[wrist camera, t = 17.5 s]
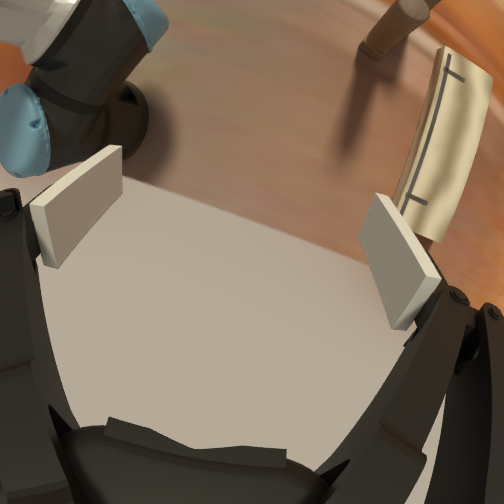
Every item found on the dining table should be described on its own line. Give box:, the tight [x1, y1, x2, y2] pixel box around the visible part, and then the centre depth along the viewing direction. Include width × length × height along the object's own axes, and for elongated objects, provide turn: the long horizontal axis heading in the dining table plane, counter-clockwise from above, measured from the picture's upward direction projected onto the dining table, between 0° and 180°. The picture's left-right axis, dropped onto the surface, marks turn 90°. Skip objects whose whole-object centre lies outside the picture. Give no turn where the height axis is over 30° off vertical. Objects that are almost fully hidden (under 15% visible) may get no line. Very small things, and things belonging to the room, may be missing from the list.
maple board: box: [392, 46, 493, 243], centre depth 36 cm, size 10×30×3 cm, turn 165°
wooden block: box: [359, 0, 441, 61], centre depth 24 cm, size 4×11×18 cm, turn 144°
